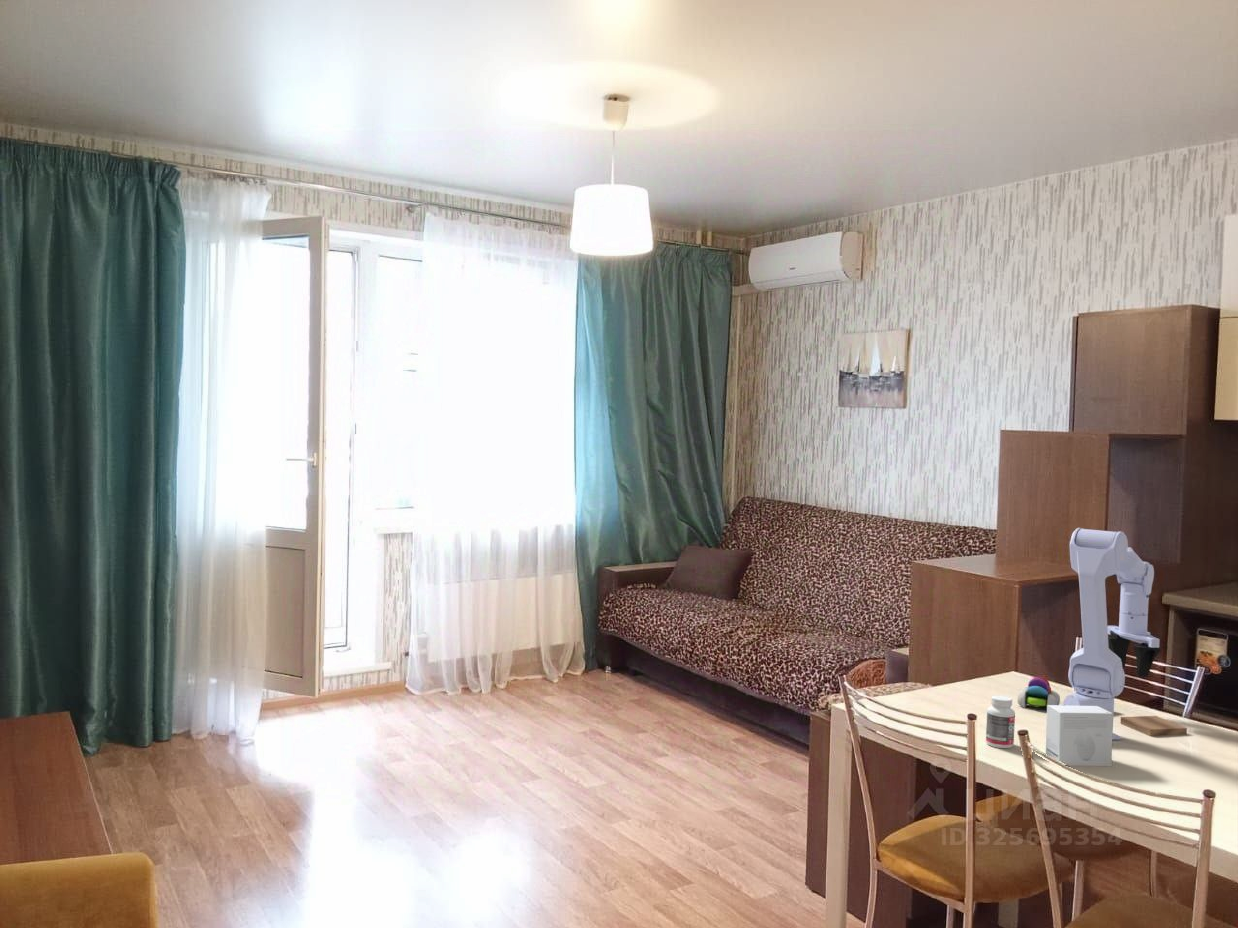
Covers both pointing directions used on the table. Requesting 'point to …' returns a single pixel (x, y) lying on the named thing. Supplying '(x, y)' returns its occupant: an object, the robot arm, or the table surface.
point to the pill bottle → (1000, 723)
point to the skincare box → (1079, 735)
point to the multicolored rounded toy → (1038, 693)
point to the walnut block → (1153, 725)
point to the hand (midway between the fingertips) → (1130, 672)
